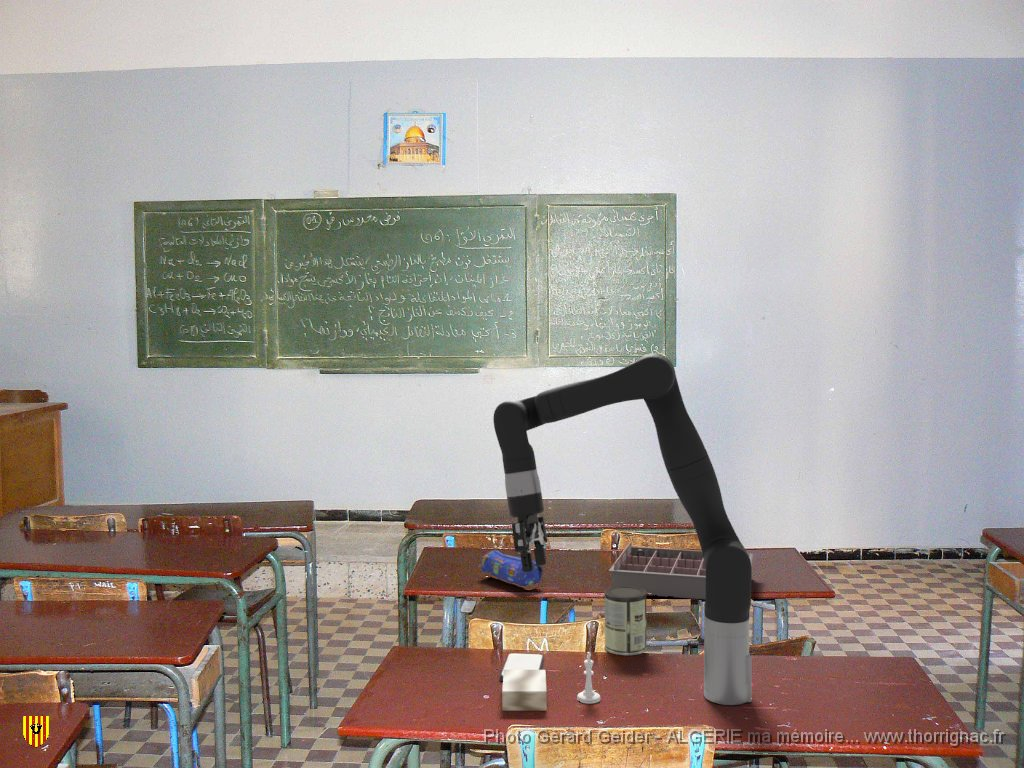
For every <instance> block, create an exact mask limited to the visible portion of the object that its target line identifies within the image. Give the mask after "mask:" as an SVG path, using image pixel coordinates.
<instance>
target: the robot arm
mask: <svg viewBox="0 0 1024 768" xmlns="http://www.w3.org/2000/svg"><path fill="white" fill-rule="evenodd" d="M636 400H643V401H644V403H645V405H646V407H647V409H648V411H649V413H650V415H651V418H652V420H653V421H652V422H653V423H654V427H655V431H656V435H657V441H658V445H659V448H660V454H661V457H662V460H663V464H664V467H665V469H666V472H667V474H668V478H669V479H670V480H669V481H671V484H672V487H673V489H674V491H675V493H676V494H677V497H678V499H679V501H680V502H681V505H682V507H683V508H684V509H685V512H687V514H688V516H689V518H690V520H691V521H692V524H693V527H694V529H695V532H696V536H697V538H698V541H699V544H700V545H699V546H700V551H702V554H703V559H704V564H705V568H706V595H705V599H704V606H703V608H704V609H703V611H704V613H703V614H704V618H703V619H704V624H703V625H704V628H703V629H704V630H703V631H704V633H703V634H704V636H703V637H704V638H703V641H704V642H703V643H704V644H703V647H704V649H703V696H704V698H705V699H706V700H708V701H709V702H711V703H715V704H719V705H722V706H723V705H724V706H737V705H738V706H739V705H743V704H745V703H752V681H753V680H752V677H753V676H752V674H753V673H752V672H753V659H752V656H751V655H750V609H751V606H752V579H753V578H752V576H753V575H752V574H753V573H752V569H753V567H752V568H751V561H750V558H749V556H748V554H749V553H748V551H747V549H746V548H745V546H744V545H743V544H742V542H741V540H740V539H739V536H738V534H737V533H736V531H735V529H734V526H733V525H732V523H731V520H730V519H729V517H728V515H727V511H726V509H725V505H724V501H723V496H722V493H721V488H720V484H719V481H718V480H719V479H718V478H717V474H716V472H715V469H714V466H713V463H712V460H711V459H710V457H709V453H708V451H707V449H706V447H705V445H704V442H703V440H702V438H701V436H700V434H699V432H698V429H697V428H696V426H695V423H694V422H693V420H692V419H691V417H690V415H689V413H688V411H687V408H686V406H685V403H684V399H683V397H682V393H681V390H680V386H679V382H678V378H677V374H676V370H675V366H674V365H673V363H672V362H671V360H670V359H669V358H667V356H665V355H663V354H660V353H658V352H657V353H655V352H654V353H653V352H650V353H647V354H644V355H642V356H641V357H639V358H637V360H635V361H634V362H633V363H631V364H628V365H626V366H625V367H623V368H620V369H618V370H616V371H613V372H611V373H608V374H605V375H601V376H599V377H594V378H590V379H585V380H581V381H575V382H572V383H567V384H564V385H560V386H556V387H554V388H550V389H546V390H544V391H542V392H539V393H538V394H536V395H535V396H531V397H528V398H524V399H520V400H516V401H511V400H510V401H509V400H506V401H503V402H501V403H499V404H498V405H497V406H496V408H495V410H494V413H493V418H492V419H493V429H494V431H495V436H496V439H497V443H498V445H499V448H500V451H501V456H502V457H501V458H502V464H503V465H502V466H503V471H504V473H503V474H504V485H505V493H506V501H507V506H508V514H509V516H510V517H511V518H517V522H516V523H512V524H511V529H512V537H513V538H512V539H513V545H514V547H513V548H514V552H515V553H518V554H519V555H520V558H521V562H522V569H523V571H524V572H529V571H533V569H534V568H533V562H532V561H533V557H532V547H533V552H534V560H535V561H534V562H536V565H539V566H545V565H546V564H547V556H546V549H545V547H546V544H547V543H548V536H547V531H546V524H545V518H544V515H541V516H540V515H539V514H542V513H543V512H544V511H545V508H544V500H543V495H542V494H543V493H542V487H541V481H540V477H539V474H538V470H537V462H536V456H535V452H534V448H533V446H532V445H531V444H530V442H529V437H528V431H531V430H532V429H536V428H538V427H541V426H544V425H546V424H551V423H556V422H561V421H563V420H566V419H569V418H573V417H576V416H579V415H582V414H586V413H589V412H590V411H594V410H597V409H599V408H602V407H605V406H610V405H613V404H618V403H619V404H620V403H624V402H628V401H636Z"/></svg>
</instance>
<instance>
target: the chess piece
mask: <svg viewBox="0 0 1024 768" xmlns="http://www.w3.org/2000/svg"><path fill="white" fill-rule="evenodd" d="M591 657H592V654H591V651H587V655H586V659H585V660H584V661H583V664H584V668H585V670H584V671H583V675H586V676H585V678H586V679H585V686H584V690H582V691H581V692H578V694H577V697H576V700H577V701H578V702H579V701H580V703H582V704H587V705H589V704H597V703H599V702H600V701H601V695H600V694H599V692H595V690H594V689H593V683H592V681H593V680H592V675H593V676H594V674H595V673H594V671H593V670H592V669H593V665H594V660H592V659H591Z"/></svg>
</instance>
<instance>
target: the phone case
mask: <svg viewBox="0 0 1024 768" xmlns="http://www.w3.org/2000/svg"><path fill="white" fill-rule="evenodd" d="M544 660H545V656H544V655H543V654H542V653H539V654H538V653H515V652H514V653H513V652H511V653H508V654H507V655H506V659H505V661H504V664H503V666H502V668H501V672H500V675H499V680H500V682H502V681H503V674H504V670H543V666H544Z"/></svg>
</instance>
